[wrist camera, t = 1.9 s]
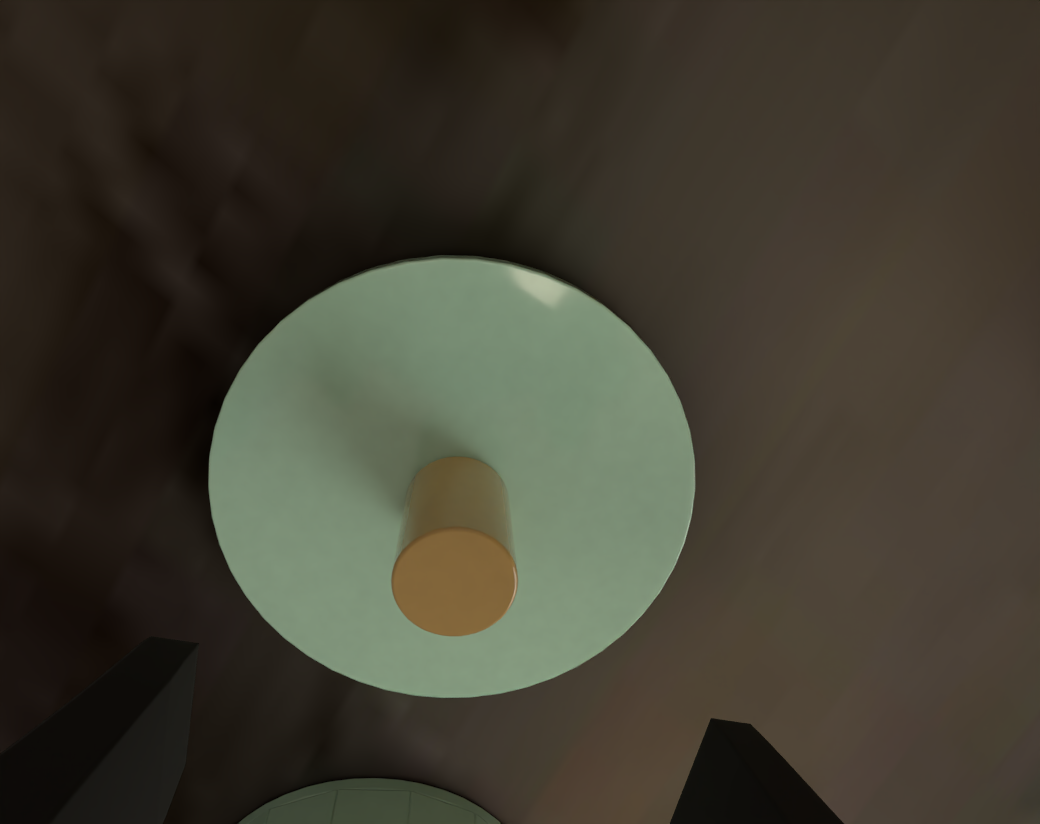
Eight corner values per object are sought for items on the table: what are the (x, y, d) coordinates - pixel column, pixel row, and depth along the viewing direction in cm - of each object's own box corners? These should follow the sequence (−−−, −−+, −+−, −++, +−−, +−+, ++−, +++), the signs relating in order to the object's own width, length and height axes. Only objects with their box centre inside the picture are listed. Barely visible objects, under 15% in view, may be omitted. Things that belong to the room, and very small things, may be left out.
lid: (155, 574, 18) (63, 702, 14) (337, 155, 15) (288, 159, 11) (547, 724, 21) (567, 871, 17) (771, 387, 18) (864, 462, 14)
